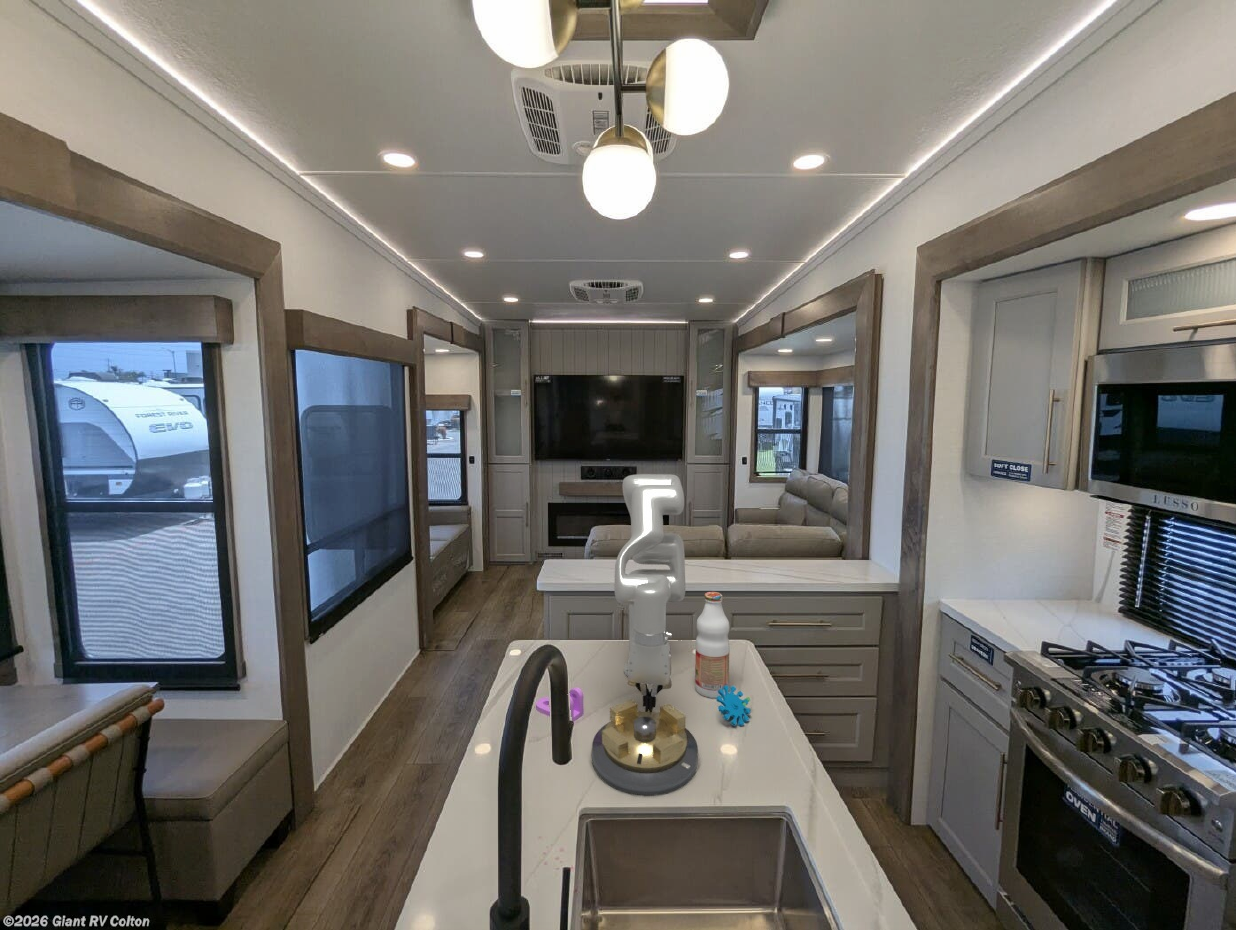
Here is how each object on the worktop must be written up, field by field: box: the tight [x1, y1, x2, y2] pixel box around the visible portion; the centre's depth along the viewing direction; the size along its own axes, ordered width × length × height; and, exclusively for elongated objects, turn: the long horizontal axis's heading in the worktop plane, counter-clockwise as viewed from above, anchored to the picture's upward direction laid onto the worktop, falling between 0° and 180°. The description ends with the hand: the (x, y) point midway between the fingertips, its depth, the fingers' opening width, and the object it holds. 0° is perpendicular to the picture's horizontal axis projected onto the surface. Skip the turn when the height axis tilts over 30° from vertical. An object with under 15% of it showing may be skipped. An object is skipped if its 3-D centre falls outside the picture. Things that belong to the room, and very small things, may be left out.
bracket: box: [535, 686, 585, 723], centre depth 137 cm, size 13×6×7 cm, turn 57°
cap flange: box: [591, 721, 699, 797], centre depth 119 cm, size 24×24×3 cm
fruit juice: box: [694, 591, 731, 699], centre depth 146 cm, size 9×9×28 cm
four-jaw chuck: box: [602, 699, 687, 773], centre depth 119 cm, size 19×19×5 cm
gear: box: [715, 685, 751, 727], centre depth 135 cm, size 11×6×10 cm
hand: (649, 708), depth 126 cm, fingers closed
